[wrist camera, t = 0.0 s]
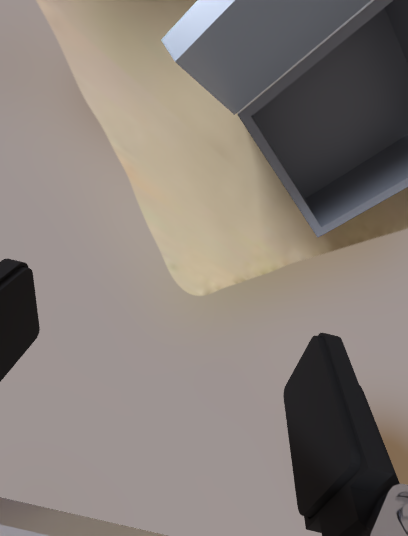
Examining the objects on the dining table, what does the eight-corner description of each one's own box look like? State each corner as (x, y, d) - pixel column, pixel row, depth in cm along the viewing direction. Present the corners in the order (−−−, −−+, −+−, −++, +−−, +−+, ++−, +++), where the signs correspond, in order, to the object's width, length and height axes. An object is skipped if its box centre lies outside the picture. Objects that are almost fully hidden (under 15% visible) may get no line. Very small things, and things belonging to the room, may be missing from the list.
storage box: (383, -13, 27) (445, -59, 19) (436, 120, 32) (504, 132, 24) (239, 108, 34) (237, 114, 25) (301, 204, 39) (317, 237, 30)
